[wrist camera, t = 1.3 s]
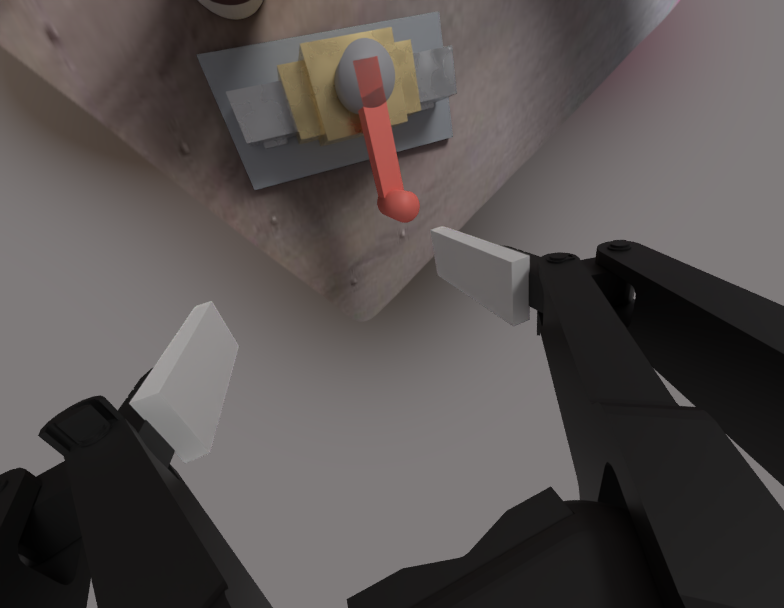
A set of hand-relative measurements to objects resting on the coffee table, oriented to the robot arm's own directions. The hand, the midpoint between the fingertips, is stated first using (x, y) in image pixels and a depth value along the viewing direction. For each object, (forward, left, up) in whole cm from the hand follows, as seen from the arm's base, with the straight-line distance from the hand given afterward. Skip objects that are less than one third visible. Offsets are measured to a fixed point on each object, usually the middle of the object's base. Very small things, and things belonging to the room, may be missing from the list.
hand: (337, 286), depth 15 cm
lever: (-8, -6, -16) cm, 19 cm away
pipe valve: (-8, -11, -23) cm, 27 cm away
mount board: (-8, -11, -24) cm, 28 cm away
